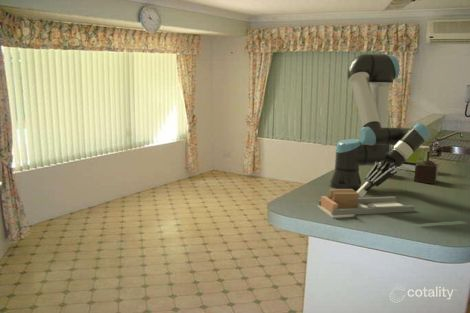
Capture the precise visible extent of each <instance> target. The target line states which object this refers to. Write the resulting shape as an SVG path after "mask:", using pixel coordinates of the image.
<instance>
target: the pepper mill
mask: <svg viewBox="0 0 470 313" xmlns="http://www.w3.org/2000/svg"><path fill="white" fill-rule="evenodd" d="M435 152H436V153H435V154H431V150H430V151H427V160H426V161H423V162H419V163H417V164H416V166H415V171H414V178H413V182H416V183H422V184H428V185H436V184H437V183H438V182H439V180H438V177H439V171H440V170H439V168H440V163H435V162H436V161H432V160H430V157H441V156H442V153H443V152H444V148H443V147H440V146H438V147H436V148H435Z"/></svg>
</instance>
